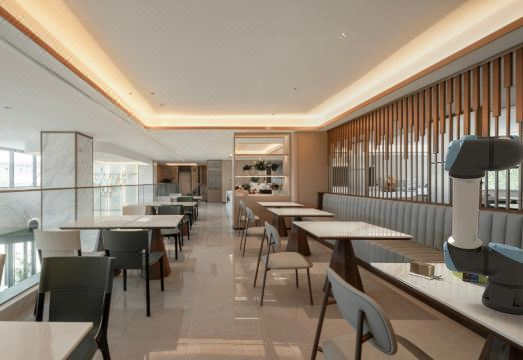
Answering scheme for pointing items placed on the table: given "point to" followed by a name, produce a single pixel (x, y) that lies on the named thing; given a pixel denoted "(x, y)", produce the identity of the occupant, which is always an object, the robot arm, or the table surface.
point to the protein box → (470, 277)
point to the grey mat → (425, 276)
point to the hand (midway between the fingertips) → (467, 215)
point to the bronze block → (422, 268)
